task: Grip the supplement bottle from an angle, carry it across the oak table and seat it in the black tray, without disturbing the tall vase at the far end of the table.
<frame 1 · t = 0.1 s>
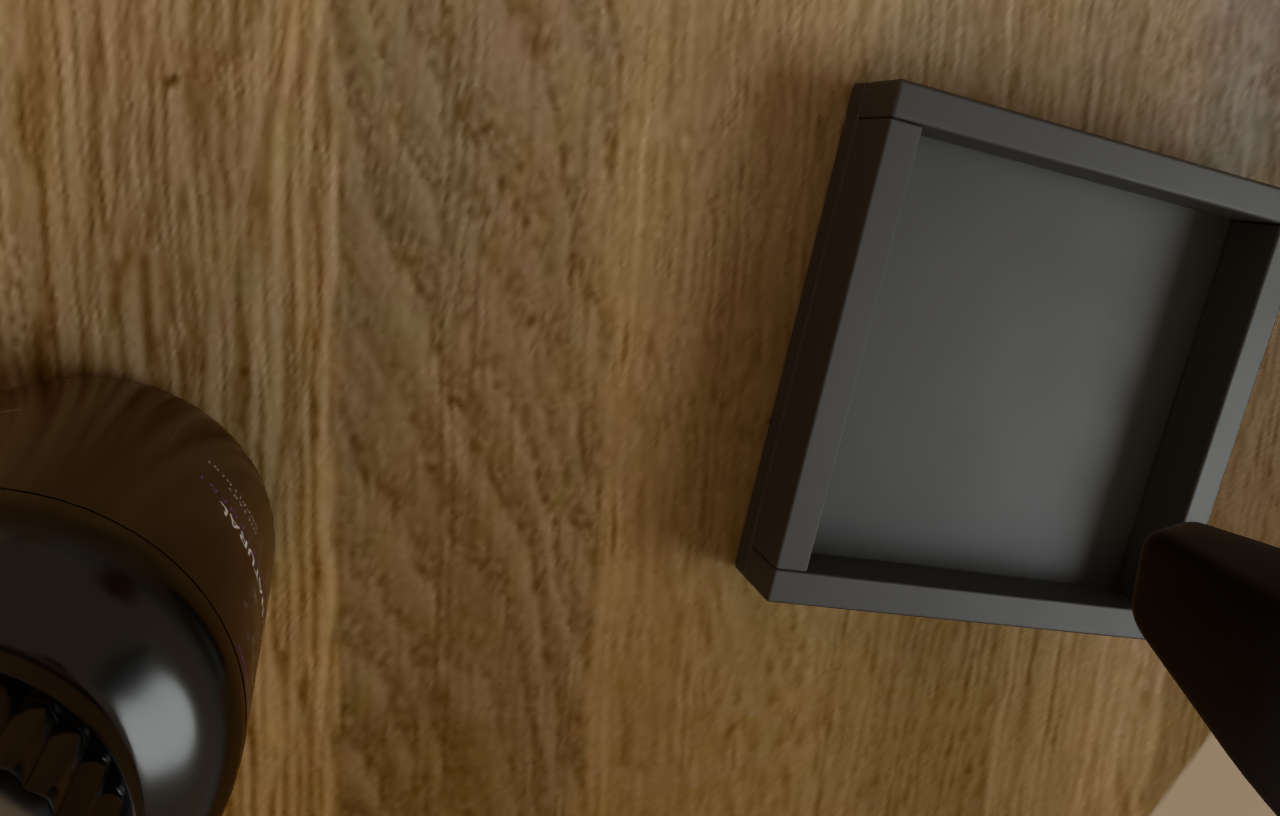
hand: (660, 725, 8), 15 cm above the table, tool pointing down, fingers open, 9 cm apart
supplement bottle: (102, 525, 21), on the table
black tray: (997, 374, 26), on the table
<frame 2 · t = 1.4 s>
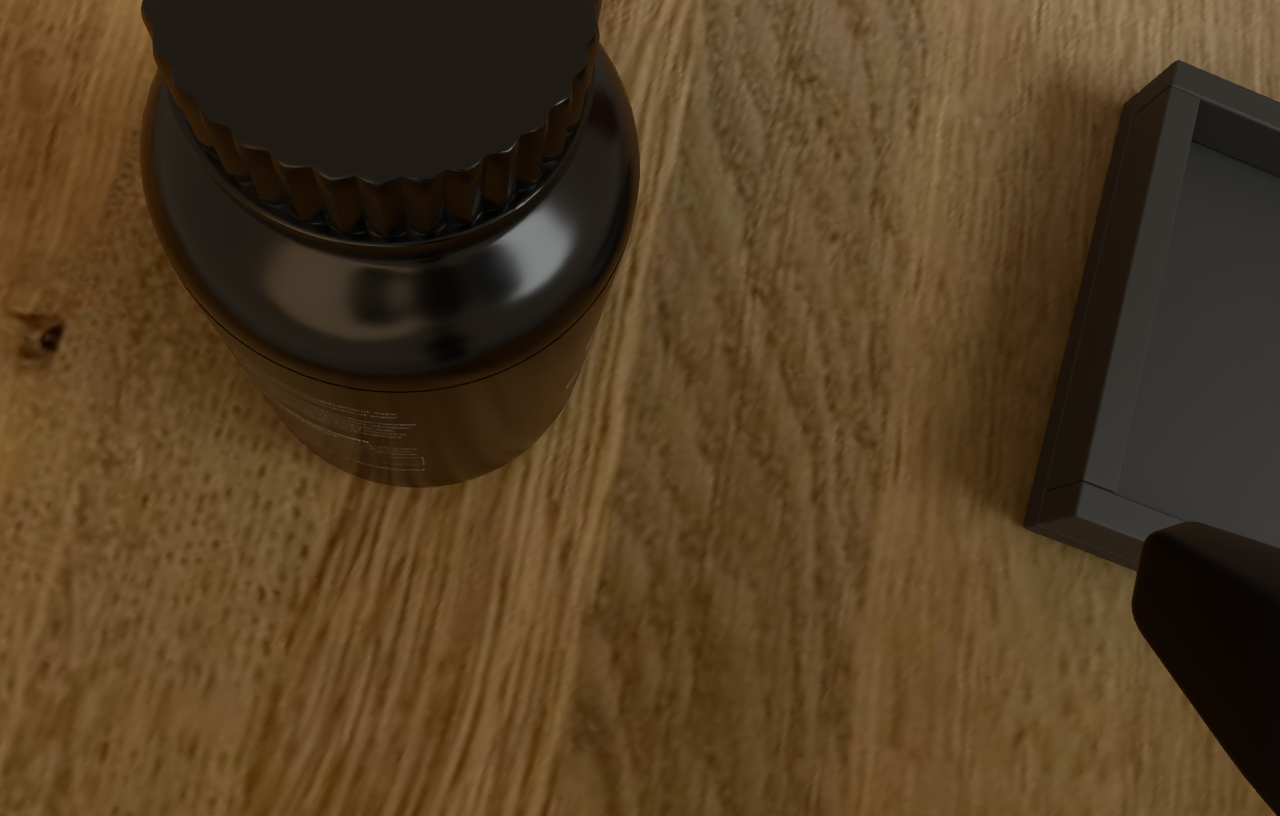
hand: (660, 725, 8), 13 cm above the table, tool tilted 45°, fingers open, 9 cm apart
supplement bottle: (424, 336, 23), on the table
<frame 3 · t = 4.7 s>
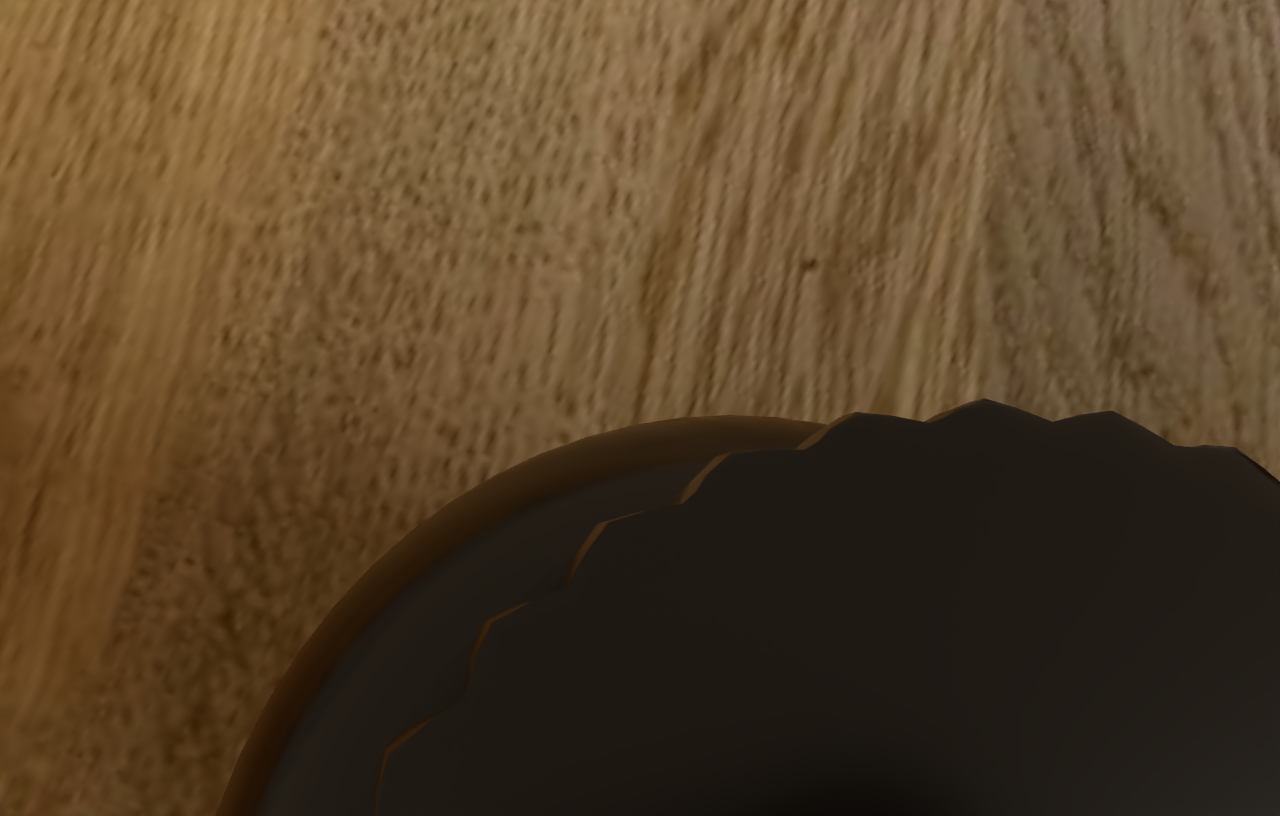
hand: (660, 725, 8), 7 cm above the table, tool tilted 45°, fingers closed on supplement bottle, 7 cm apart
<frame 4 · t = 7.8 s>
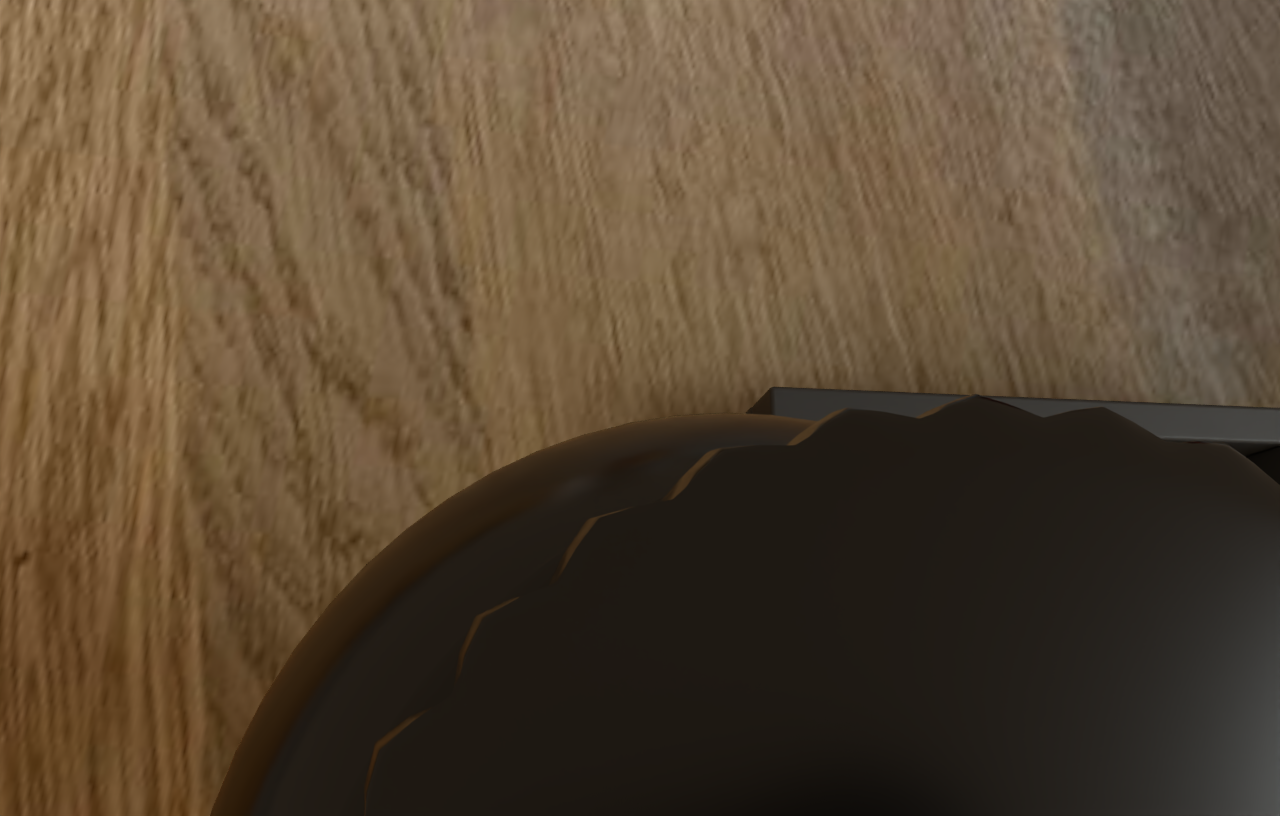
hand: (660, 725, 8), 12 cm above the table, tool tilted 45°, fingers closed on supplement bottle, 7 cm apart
black tray: (1027, 697, 21), on the table
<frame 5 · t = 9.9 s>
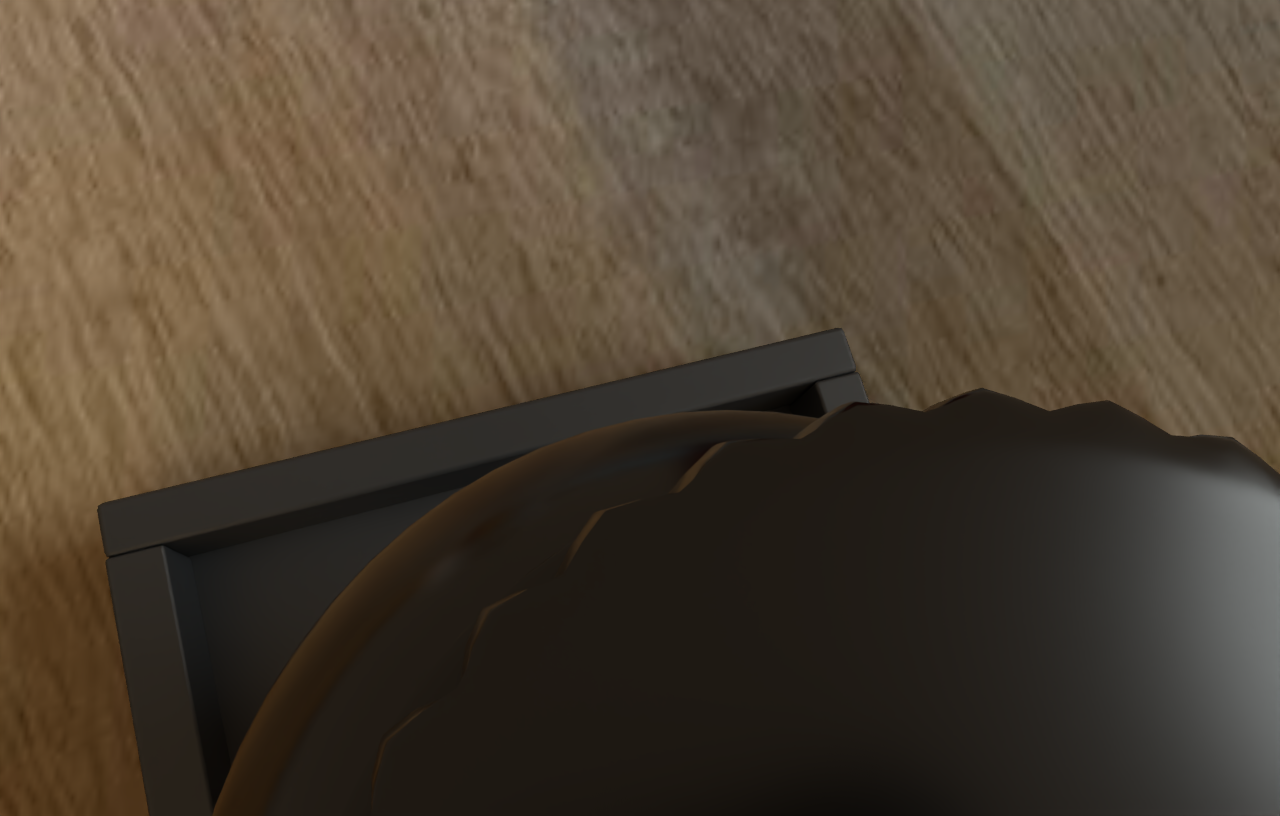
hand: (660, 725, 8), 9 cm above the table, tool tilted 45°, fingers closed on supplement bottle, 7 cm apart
supplement bottle: (603, 815, 14), point 2 cm above the table, touching gripper
black tray: (585, 782, 17), on the table
when the fingers open (7 cm above the table, at t = 11.1 s): supplement bottle stays where it is, resting on black tray.
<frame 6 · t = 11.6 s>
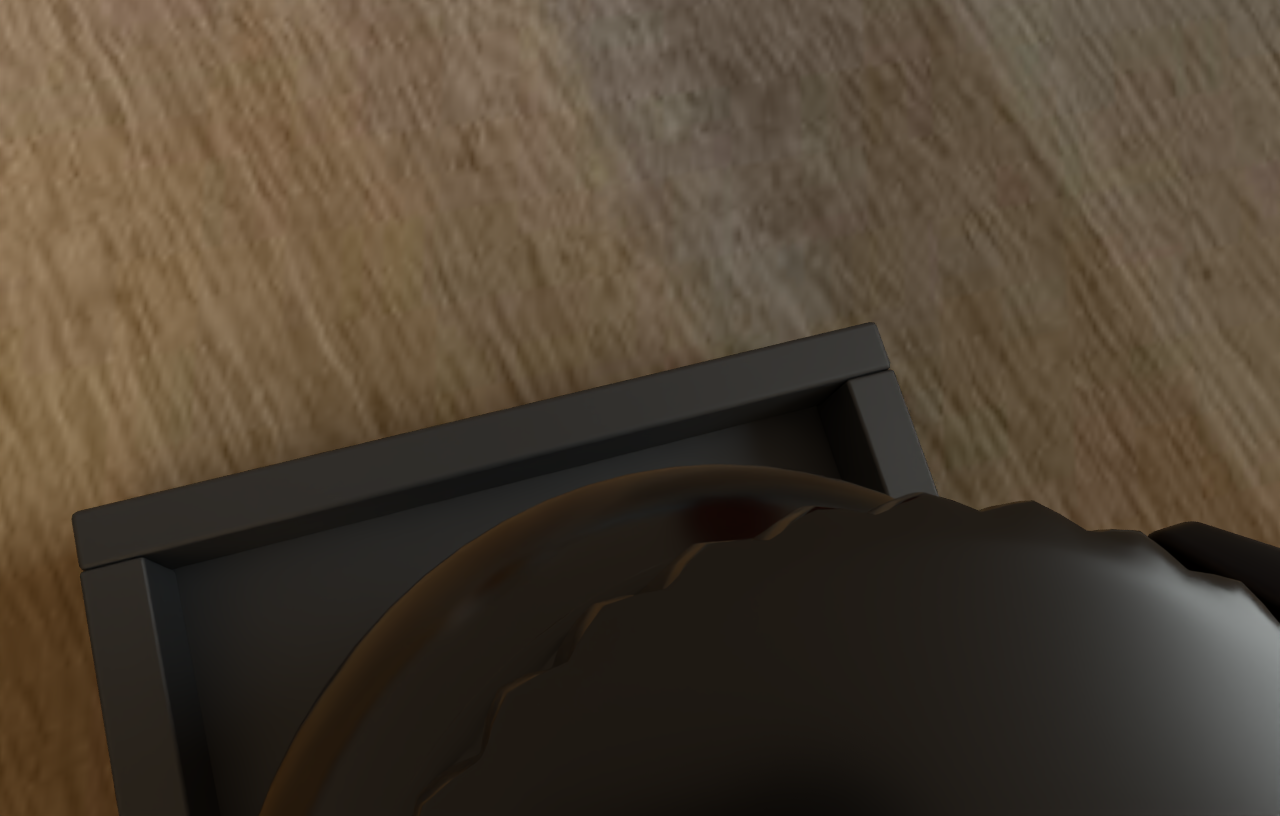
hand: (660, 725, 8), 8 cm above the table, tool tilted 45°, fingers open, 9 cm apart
black tray: (601, 812, 15), on the table
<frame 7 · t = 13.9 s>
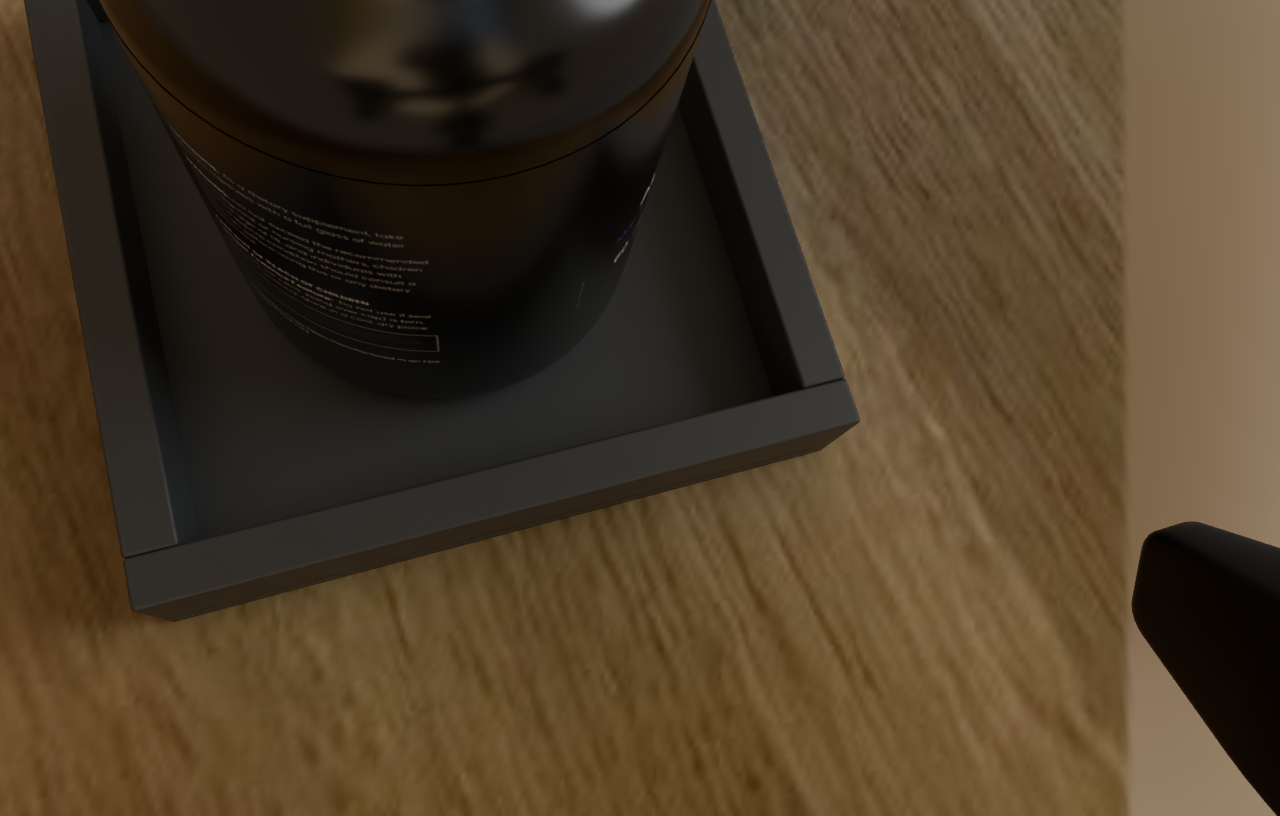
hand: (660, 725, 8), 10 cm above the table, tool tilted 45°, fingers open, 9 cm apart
supplement bottle: (439, 230, 19), resting on black tray
black tray: (440, 231, 19), on the table
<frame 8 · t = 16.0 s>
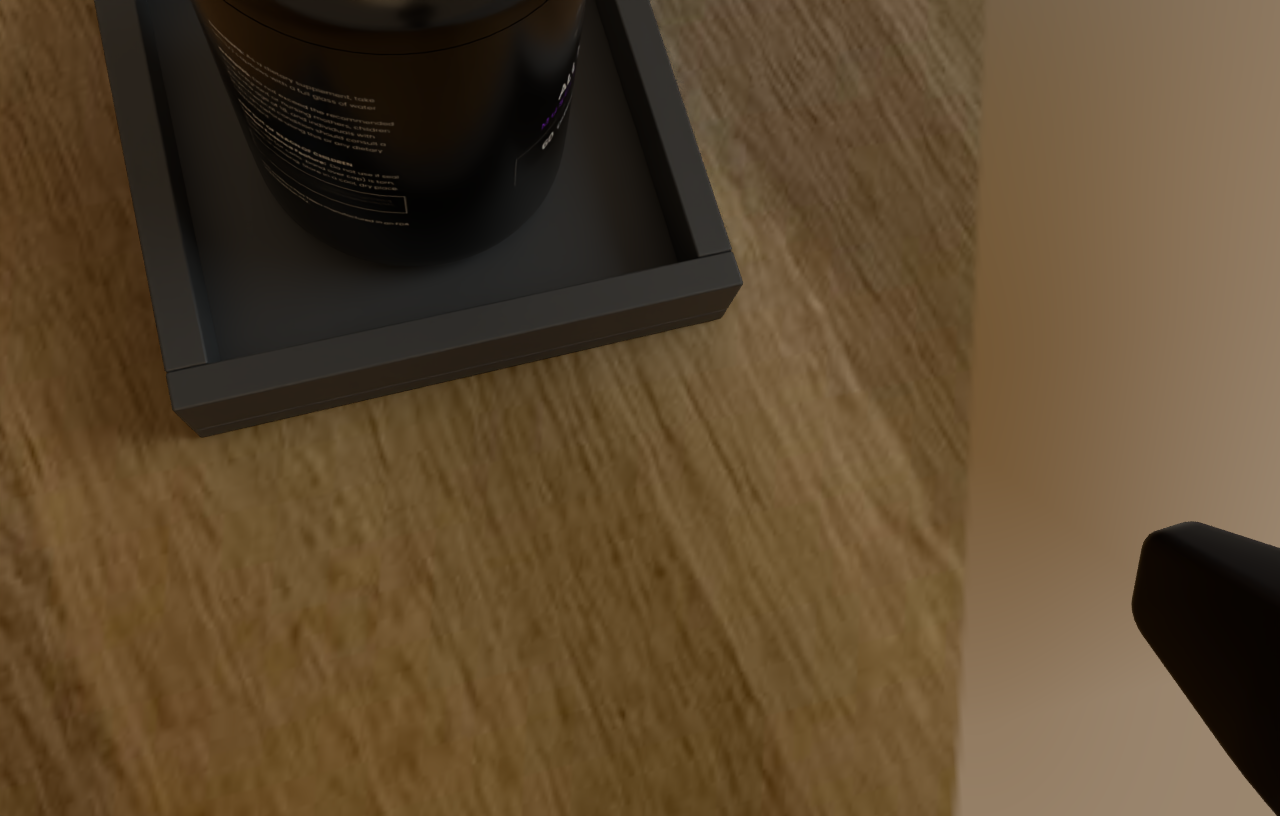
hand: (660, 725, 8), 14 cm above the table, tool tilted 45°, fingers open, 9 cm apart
supplement bottle: (413, 140, 24), resting on black tray
black tray: (414, 143, 24), on the table
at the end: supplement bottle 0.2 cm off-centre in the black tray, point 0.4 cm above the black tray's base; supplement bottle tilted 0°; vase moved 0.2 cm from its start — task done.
